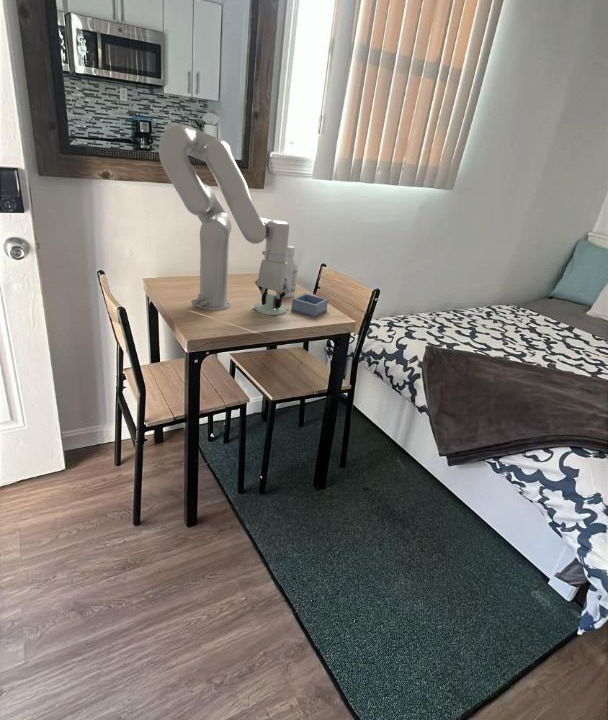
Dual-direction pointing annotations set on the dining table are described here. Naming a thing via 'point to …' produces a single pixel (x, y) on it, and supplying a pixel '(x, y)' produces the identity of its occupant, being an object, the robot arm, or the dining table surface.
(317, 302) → the dish
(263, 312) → the lid
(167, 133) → the robot arm
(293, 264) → the bath foam
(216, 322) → the dining table surface
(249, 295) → the dining table surface
